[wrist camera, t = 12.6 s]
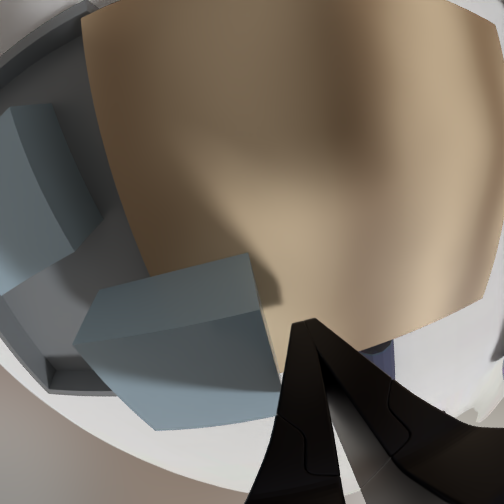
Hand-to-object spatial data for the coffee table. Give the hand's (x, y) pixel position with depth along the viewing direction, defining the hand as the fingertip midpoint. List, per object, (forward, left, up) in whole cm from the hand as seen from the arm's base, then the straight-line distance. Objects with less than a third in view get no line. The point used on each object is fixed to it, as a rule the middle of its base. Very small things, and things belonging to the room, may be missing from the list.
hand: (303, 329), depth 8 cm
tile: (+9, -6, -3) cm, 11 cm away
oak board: (-3, -4, -4) cm, 6 cm away
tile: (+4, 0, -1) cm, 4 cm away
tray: (+10, -4, -4) cm, 11 cm away
